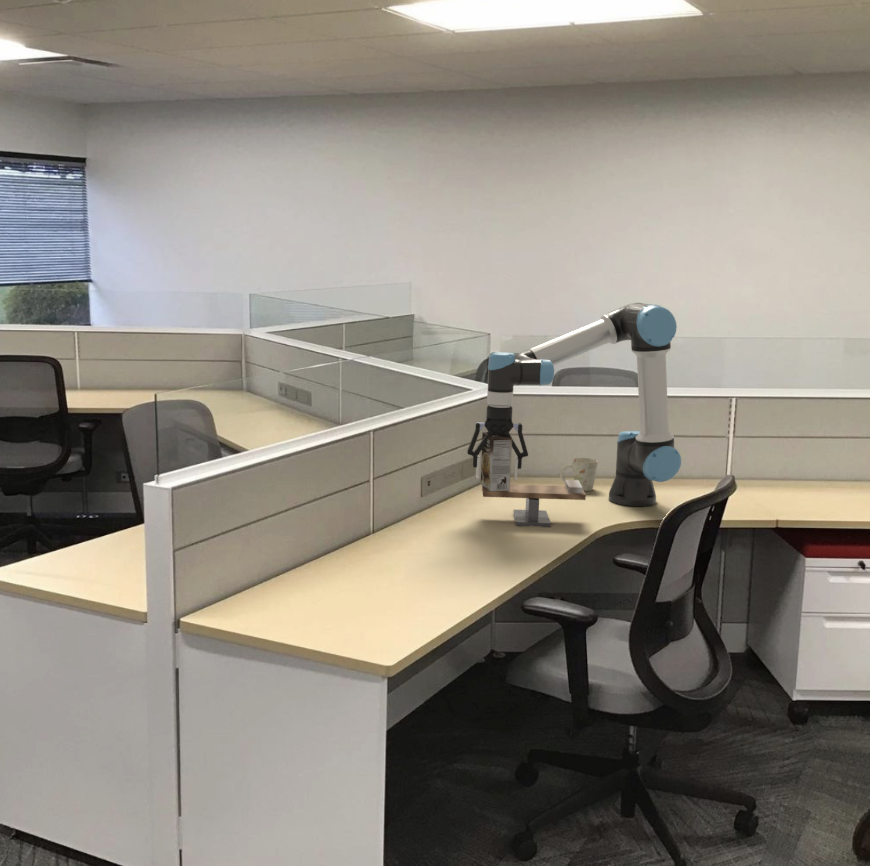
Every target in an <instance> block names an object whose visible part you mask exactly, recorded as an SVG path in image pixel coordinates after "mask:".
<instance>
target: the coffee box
mask: <svg viewBox="0 0 870 866" xmlns="http://www.w3.org/2000/svg"><path fill="white" fill-rule="evenodd" d="M487 432H488V431H484V432H482V438H481V441H482V440H483V438H484V437H485V436H486V435H487V434H486V433H487ZM511 437H512V436H511ZM511 437H506V436H498V435H492V436H488V438H487V443H486V444H485V446H484V447H483V449H482V450H481V459H480V462H481V463H480V464H481V465H480V485H481V487H482V486H484V487H485V488H486V489H488V490H489V491H491V492H492V491H509V490H510V484H511V470H512V451H513V450H512V449H513V448H512V439H513V437H512V438H511Z"/></svg>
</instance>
